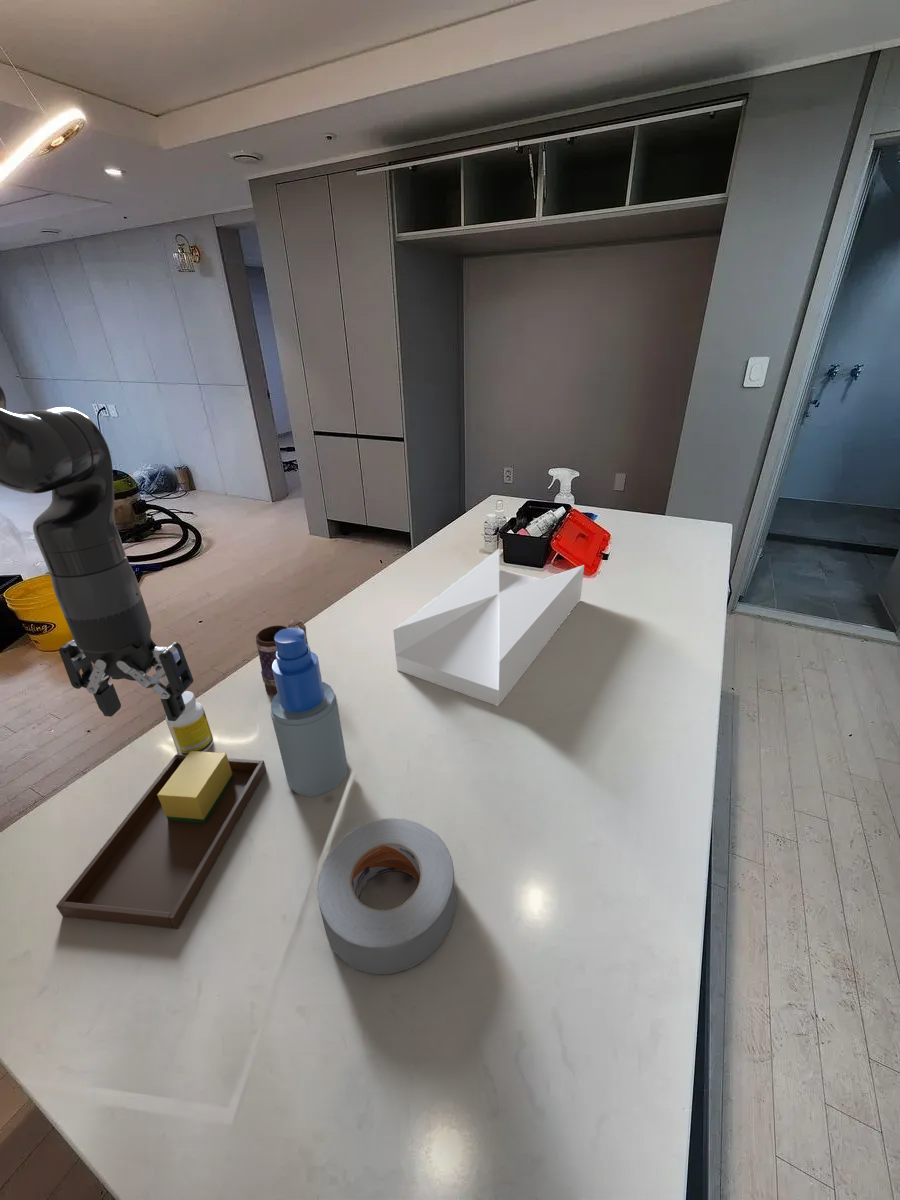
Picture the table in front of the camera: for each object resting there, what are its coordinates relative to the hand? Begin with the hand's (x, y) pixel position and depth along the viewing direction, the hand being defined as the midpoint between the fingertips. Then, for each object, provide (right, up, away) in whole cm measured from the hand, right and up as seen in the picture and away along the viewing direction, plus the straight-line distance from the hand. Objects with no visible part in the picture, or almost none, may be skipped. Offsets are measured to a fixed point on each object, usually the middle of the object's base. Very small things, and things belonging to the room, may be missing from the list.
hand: (144, 714), depth 64 cm
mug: (+8, -1, +34) cm, 35 cm away
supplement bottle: (-3, -10, +19) cm, 21 cm away
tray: (+2, -17, +4) cm, 18 cm away
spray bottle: (+19, -12, +13) cm, 26 cm away
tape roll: (+31, -21, -4) cm, 38 cm away
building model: (+49, +7, +48) cm, 69 cm away
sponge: (+3, -14, +9) cm, 17 cm away
